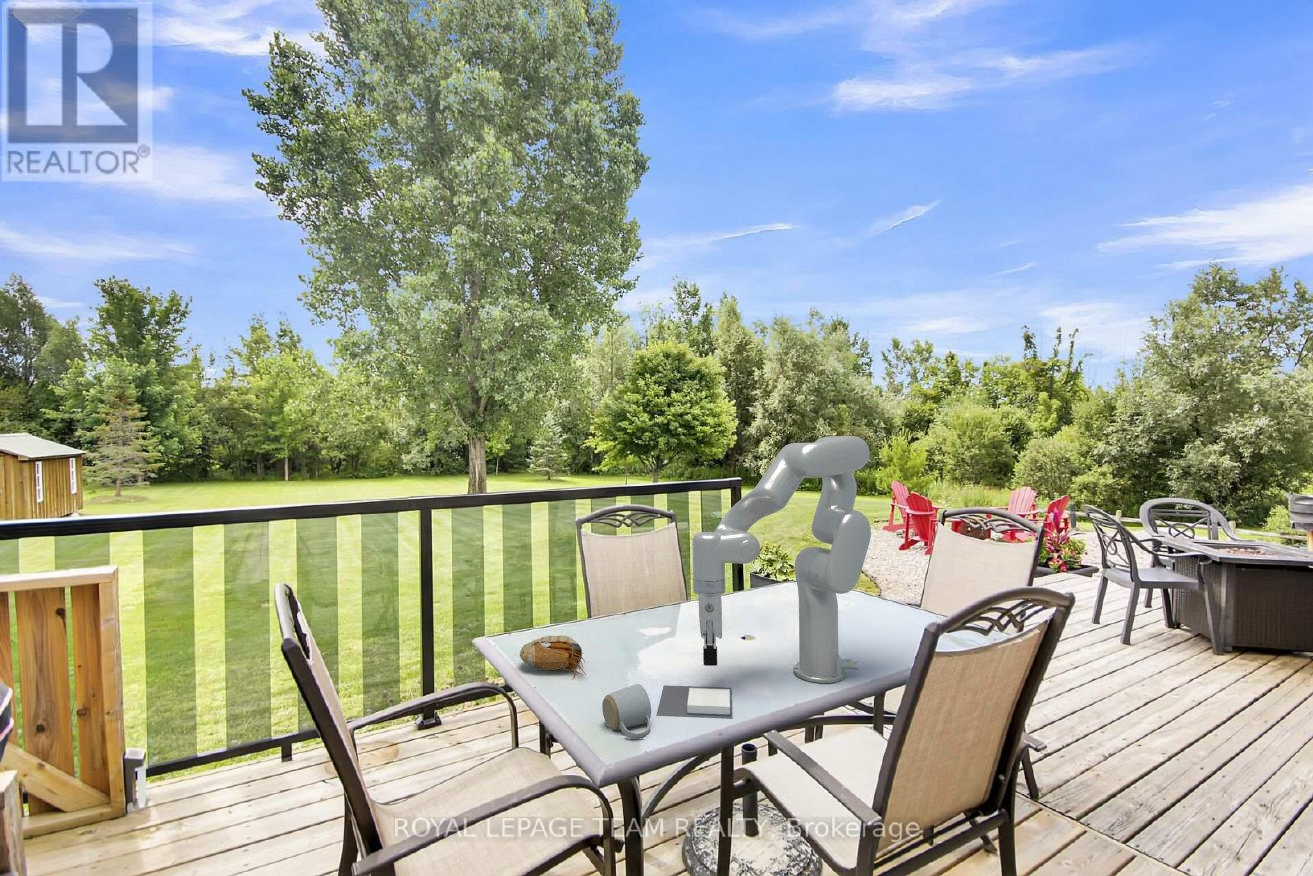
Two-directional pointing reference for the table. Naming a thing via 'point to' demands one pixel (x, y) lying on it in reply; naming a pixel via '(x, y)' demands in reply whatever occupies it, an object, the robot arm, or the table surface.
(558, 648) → the nautilus
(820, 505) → the robot arm
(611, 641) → the table surface
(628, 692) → the ceramic mug
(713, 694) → the tile
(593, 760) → the table surface
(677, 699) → the mat
